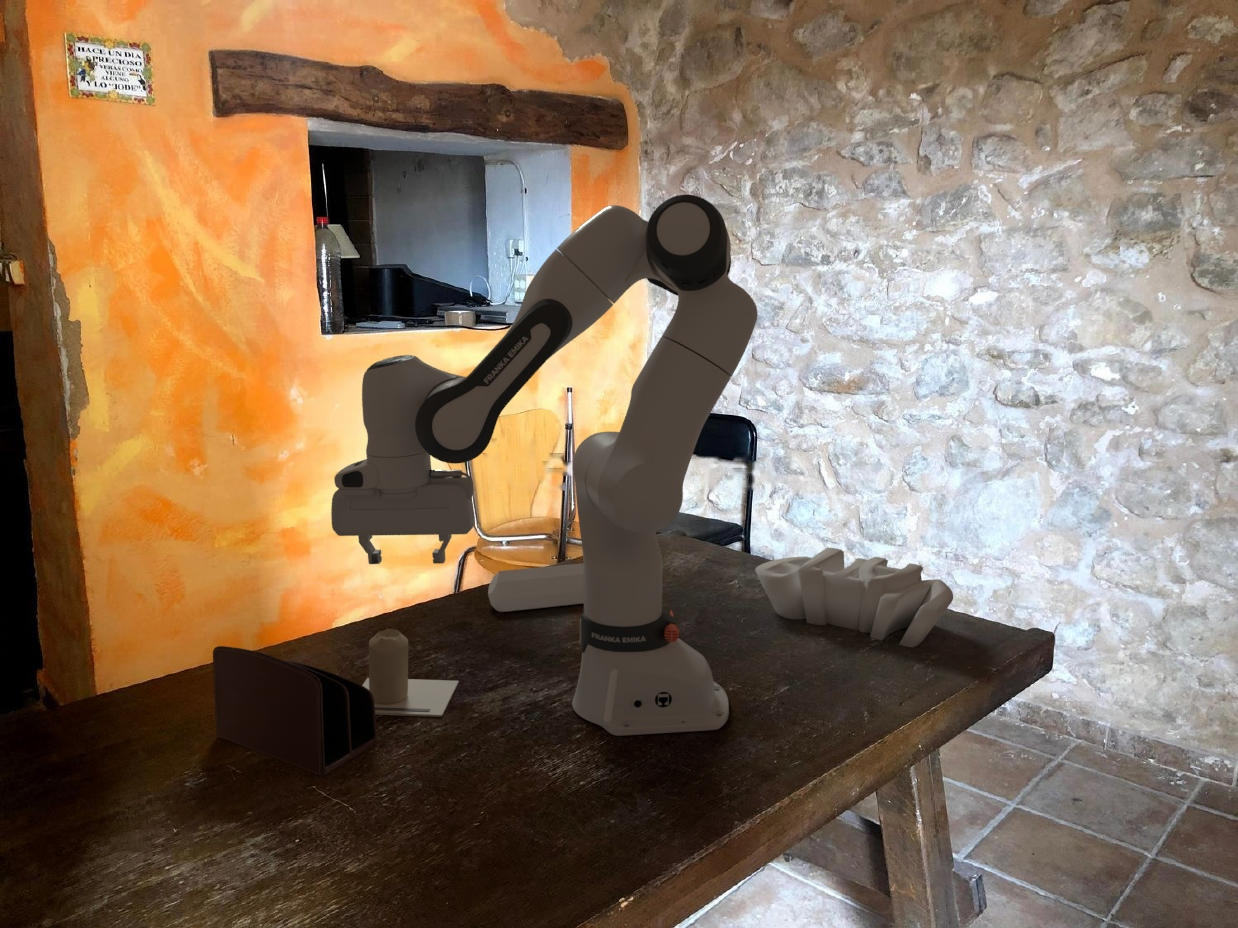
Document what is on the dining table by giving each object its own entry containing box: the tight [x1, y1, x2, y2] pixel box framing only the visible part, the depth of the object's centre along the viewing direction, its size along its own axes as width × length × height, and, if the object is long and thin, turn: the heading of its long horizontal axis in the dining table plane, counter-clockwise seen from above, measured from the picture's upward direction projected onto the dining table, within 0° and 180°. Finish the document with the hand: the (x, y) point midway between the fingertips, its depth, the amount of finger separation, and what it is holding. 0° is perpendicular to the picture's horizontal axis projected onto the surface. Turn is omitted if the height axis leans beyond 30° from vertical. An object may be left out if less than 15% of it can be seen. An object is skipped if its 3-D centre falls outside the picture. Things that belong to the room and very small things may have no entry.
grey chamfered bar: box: [487, 562, 584, 613], centre depth 183 cm, size 7×7×24 cm
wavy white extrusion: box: [754, 547, 954, 648], centre depth 173 cm, size 35×16×10 cm, turn 52°
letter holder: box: [212, 645, 378, 778], centre depth 130 cm, size 10×20×14 cm, turn 60°
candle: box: [368, 628, 409, 704], centre depth 142 cm, size 6×6×10 cm
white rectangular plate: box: [361, 677, 460, 718], centre depth 144 cm, size 14×11×1 cm
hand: (407, 562), depth 143 cm, fingers open, 8 cm apart
